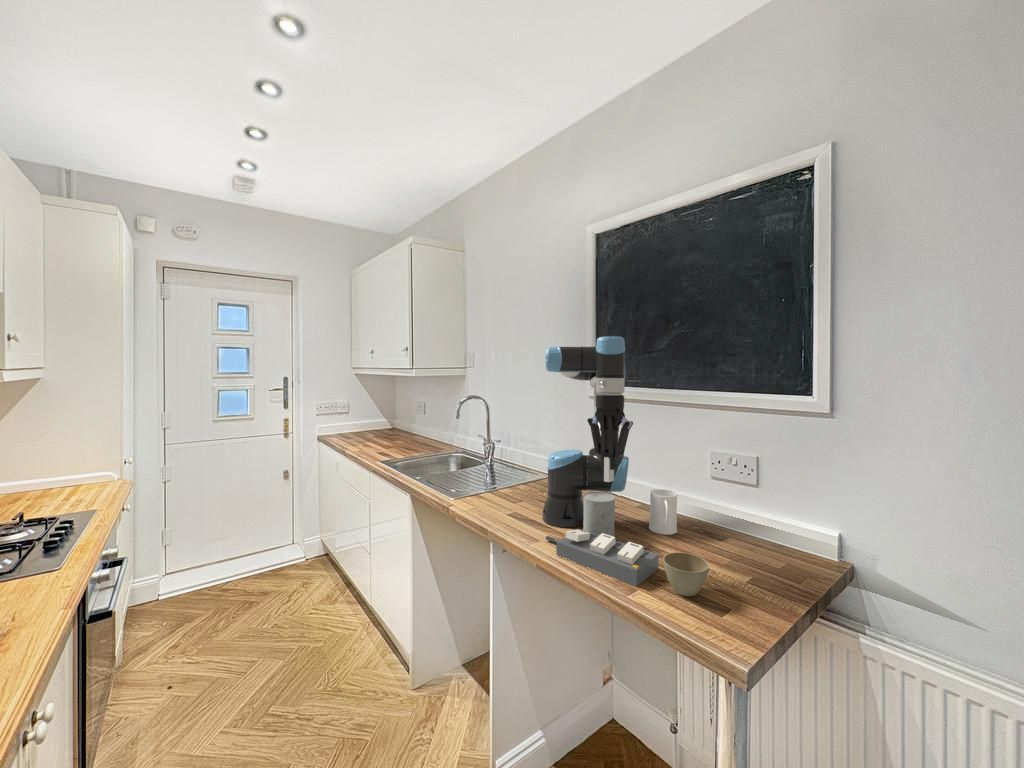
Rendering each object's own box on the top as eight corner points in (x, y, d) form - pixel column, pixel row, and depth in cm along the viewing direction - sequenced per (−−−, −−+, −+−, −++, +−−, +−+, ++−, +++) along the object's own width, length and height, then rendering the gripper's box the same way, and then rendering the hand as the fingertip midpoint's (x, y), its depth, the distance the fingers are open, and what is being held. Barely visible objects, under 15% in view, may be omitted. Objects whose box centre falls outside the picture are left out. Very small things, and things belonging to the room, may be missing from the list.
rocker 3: (617, 559, 110) (617, 553, 109) (629, 547, 114) (628, 541, 113) (632, 564, 107) (631, 558, 107) (643, 552, 111) (643, 545, 111)
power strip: (532, 546, 127) (532, 532, 127) (558, 534, 136) (558, 521, 135) (636, 586, 104) (636, 569, 104) (658, 569, 113) (658, 553, 113)
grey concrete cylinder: (616, 532, 138) (616, 493, 137) (612, 544, 129) (613, 503, 128) (585, 528, 141) (586, 490, 140) (580, 539, 132) (580, 499, 131)
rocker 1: (565, 537, 120) (566, 530, 120) (577, 535, 125) (578, 529, 125) (577, 541, 118) (578, 534, 118) (589, 539, 122) (590, 532, 122)
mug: (679, 540, 131) (680, 501, 131) (650, 537, 134) (650, 498, 133) (675, 526, 143) (676, 489, 142) (648, 523, 145) (648, 487, 144)
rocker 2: (590, 550, 115) (589, 543, 115) (602, 539, 119) (602, 532, 119) (603, 554, 112) (603, 548, 112) (615, 543, 117) (615, 536, 116)
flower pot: (655, 581, 107) (656, 552, 107) (694, 579, 108) (695, 551, 108) (674, 603, 97) (674, 572, 97) (717, 601, 98) (717, 570, 98)
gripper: (581, 393, 120) (580, 479, 120) (624, 395, 111) (623, 487, 111) (596, 392, 125) (595, 474, 126) (638, 394, 116) (637, 482, 117)
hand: (608, 480), depth 118 cm, fingers closed
